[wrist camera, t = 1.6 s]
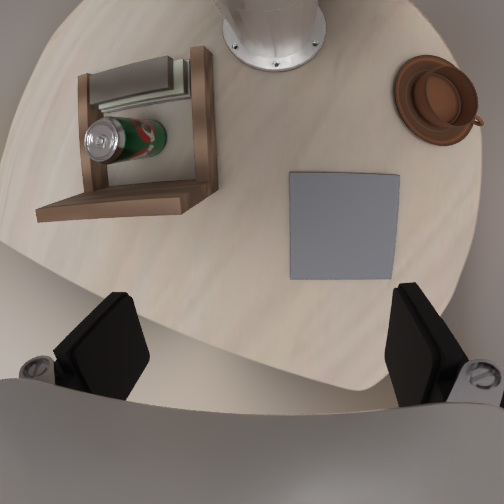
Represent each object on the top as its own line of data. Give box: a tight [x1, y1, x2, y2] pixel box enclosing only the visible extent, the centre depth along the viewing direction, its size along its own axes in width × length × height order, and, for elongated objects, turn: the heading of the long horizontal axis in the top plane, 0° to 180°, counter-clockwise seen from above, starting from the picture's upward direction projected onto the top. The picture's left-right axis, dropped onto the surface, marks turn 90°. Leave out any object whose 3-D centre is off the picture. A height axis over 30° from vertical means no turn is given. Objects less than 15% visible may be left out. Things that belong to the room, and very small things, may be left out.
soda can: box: [84, 117, 166, 165], centre depth 33 cm, size 5×5×12 cm
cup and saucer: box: [395, 55, 484, 146], centre depth 29 cm, size 12×12×6 cm
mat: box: [289, 172, 400, 280], centre depth 39 cm, size 14×14×1 cm
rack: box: [36, 46, 218, 223], centre depth 31 cm, size 18×18×14 cm
